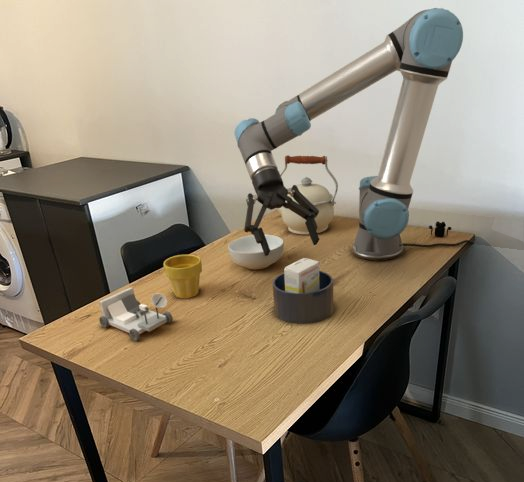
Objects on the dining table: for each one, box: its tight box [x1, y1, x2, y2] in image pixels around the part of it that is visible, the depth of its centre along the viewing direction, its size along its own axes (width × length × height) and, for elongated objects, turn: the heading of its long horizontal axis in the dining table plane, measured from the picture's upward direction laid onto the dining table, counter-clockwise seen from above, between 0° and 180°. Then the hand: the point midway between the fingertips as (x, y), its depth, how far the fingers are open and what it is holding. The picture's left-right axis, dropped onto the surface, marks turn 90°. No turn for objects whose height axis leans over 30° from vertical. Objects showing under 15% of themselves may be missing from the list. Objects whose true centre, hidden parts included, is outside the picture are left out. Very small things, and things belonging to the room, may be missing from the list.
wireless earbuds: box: [428, 221, 452, 238], centre depth 177 cm, size 7×2×5 cm, turn 65°
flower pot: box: [163, 254, 203, 299], centre depth 152 cm, size 10×10×10 cm
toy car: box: [98, 286, 174, 342], centre depth 137 cm, size 18×10×12 cm
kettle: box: [275, 154, 339, 236], centre depth 189 cm, size 25×18×25 cm
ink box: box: [283, 257, 320, 293], centre depth 137 cm, size 9×5×12 cm, turn 139°
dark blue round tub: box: [271, 270, 334, 324], centre depth 139 cm, size 15×15×8 cm
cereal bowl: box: [227, 233, 285, 270], centre depth 167 cm, size 17×17×7 cm
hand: (292, 247), depth 138 cm, fingers open, 13 cm apart
